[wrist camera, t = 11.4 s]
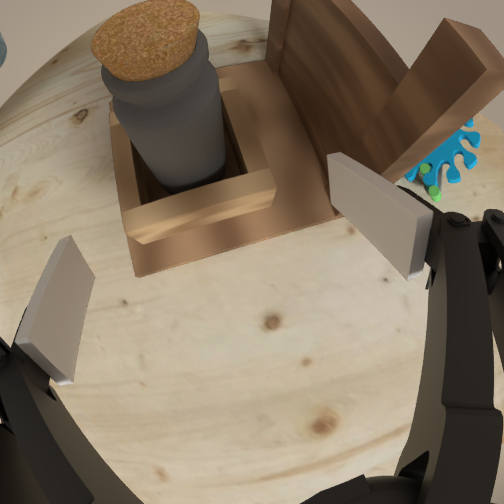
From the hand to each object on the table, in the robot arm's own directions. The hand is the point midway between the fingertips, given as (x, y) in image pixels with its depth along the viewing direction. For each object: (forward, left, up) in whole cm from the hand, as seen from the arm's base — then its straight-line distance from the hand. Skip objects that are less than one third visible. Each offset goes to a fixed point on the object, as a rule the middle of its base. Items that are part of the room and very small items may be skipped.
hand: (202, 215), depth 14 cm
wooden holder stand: (-2, +9, -10) cm, 13 cm away
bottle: (-4, +6, -9) cm, 12 cm away
